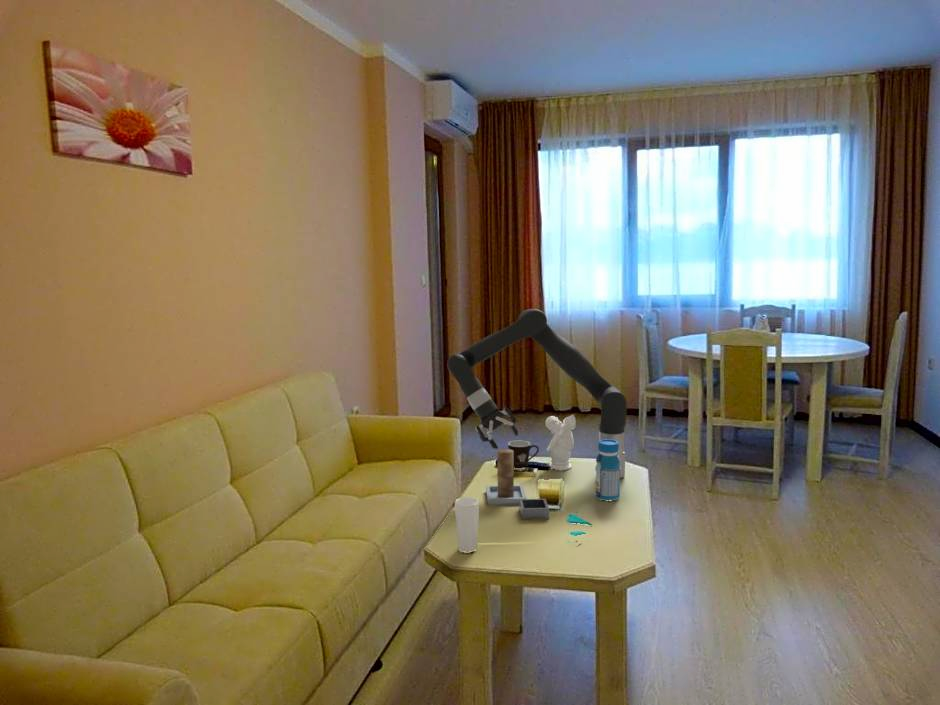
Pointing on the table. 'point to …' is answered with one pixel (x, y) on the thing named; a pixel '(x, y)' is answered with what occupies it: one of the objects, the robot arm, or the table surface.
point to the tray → (495, 500)
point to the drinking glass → (467, 522)
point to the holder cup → (533, 509)
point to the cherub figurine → (561, 441)
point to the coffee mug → (521, 452)
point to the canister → (505, 473)
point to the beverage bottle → (608, 470)
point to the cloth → (576, 520)
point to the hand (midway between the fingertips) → (507, 442)
